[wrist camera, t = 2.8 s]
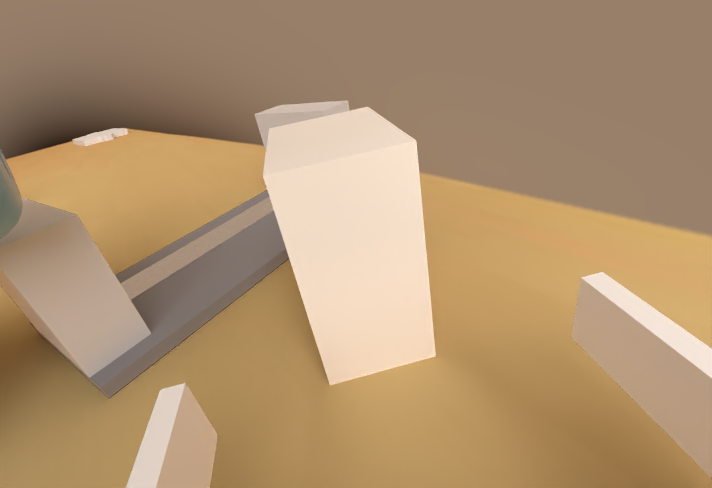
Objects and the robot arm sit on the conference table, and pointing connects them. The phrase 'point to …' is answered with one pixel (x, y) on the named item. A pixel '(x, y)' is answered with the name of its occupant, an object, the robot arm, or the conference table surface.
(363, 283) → the block
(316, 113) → the block
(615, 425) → the conference table surface
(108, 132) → the mounting plate
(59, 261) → the block
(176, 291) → the rail board
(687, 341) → the robot arm
